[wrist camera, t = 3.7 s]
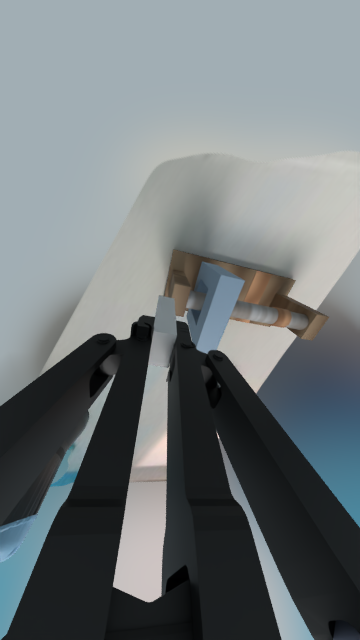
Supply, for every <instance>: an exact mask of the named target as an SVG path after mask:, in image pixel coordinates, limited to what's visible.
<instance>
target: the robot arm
mask: <svg viewBox="0 0 360 640" xmlns="http://www.w3.org/2000/svg"><path fill="white" fill-rule="evenodd" d="M169 364H170V368H169V372H168V376H167V379H166V382H168V421H167V495H166V498H167V500H166V530H165V537H164V545H163V560H162V596H161V597H159V598H158V599H156V600H155V601H153V602H145V601H143V600H140V599H138V598H136V597H134V596H132V595H130V594H127V593H125V592H123V591H121V590H119V589H116V588H114V587H113V581H114V575H115V569H116V562H117V556H118V549H119V544H120V538H121V530H122V524H123V519H124V511H125V505H126V498H127V491H128V485H129V479H130V473H131V467H132V460H133V454H134V448H135V442H136V436H137V430H138V424H139V417H140V411H141V405H142V399H143V393H144V387H145V381H146V374H147V368H148V365H152V366H160V367H167V368H168V367H169ZM114 374H116V375H115V378H114V380H113V383H112V386H111V388H110V391H109V393H108V396H107V399H106V401H105V404H104V406H103V409H102V411H101V414H100V417H99V419H98V422H97V424H96V427H95V430H94V432H93V435H92V437H91V440H90V443H89V445H88V448H87V450H86V453H85V456H84V458H83V461H82V463H81V466H80V469H79V471H78V474H77V476H76V479H75V482H74V484H73V487H72V489H71V492H70V494H69V496H68V498H67V499H66V501H65V502H64V503H63V505H62V506H61V507H60V509H59V511H58V513H57V515H56V517H55V519H54V521H53V523H52V525H51V528H50V530H49V532H48V534H47V537H46V539H45V542H44V544H43V547H42V549H41V552H40V554H39V557H38V559H37V562H36V564H35V566H34V569H33V571H32V574H31V576H30V579H29V581H28V583H27V586H26V588H25V591H24V593H23V596H22V598H21V601H20V603H19V606H18V608H17V611H16V613H15V616H14V618H13V621H12V623H11V625H10V628H9V630H8V633H7V634H6V635H5V636H4V637H3V638H2V639H1V640H281V636H280V633H279V629H278V626H277V622H276V618H275V614H274V611H273V607H272V604H271V600H270V597H269V593H268V589H267V586H266V582H265V578H264V575H263V571H262V568H261V564H260V560H259V557H258V553H257V549H256V546H255V542H254V538H253V535H252V531H251V528H250V525H249V522H248V519H247V516H246V514H245V512H244V510H243V509H242V507H241V505H239V503H238V502H237V501H236V500H235V499H234V498H233V496H232V494H231V490H230V487H229V483H228V478H227V474H226V470H225V466H224V462H223V458H222V453H221V449H220V445H219V441H218V436H217V433H218V435H219V437H220V440H221V441H222V444H223V446H224V449H225V451H226V453H227V455H228V458H229V460H230V462H231V464H232V467H233V469H234V471H235V473H236V476H237V478H238V480H239V482H240V484H241V487H242V489H243V491H244V494H245V496H246V498H247V500H248V502H249V505H250V507H251V509H252V512H253V514H254V516H255V518H256V521H257V523H258V525H259V527H260V529H261V532H262V534H263V536H264V538H265V541H266V543H267V545H268V547H269V549H270V552H271V554H272V556H273V559H274V561H275V563H276V565H277V568H278V570H279V572H280V574H281V576H282V578H283V580H284V583H285V585H286V587H287V589H288V591H289V593H290V595H291V597H292V599H293V601H294V603H295V605H296V607H297V609H298V610H299V612H300V614H301V616H302V618H303V620H304V622H305V624H306V625H307V627H308V629H309V631H310V633H311V635H312V636H313V638H314V640H360V528H359V526H358V525H357V524H356V522H355V521H354V520H353V519H352V517H351V516H350V515H349V513H348V512H347V511H346V510H345V508H344V507H343V506H342V504H341V503H340V502H339V501H338V499H337V498H336V497H335V496H334V494H333V493H332V491H331V490H330V489H329V488H328V486H327V485H326V484H325V482H324V481H323V480H322V479H321V477H320V476H319V475H318V473H317V472H316V471H315V470H314V468H313V467H312V466H311V464H310V463H309V462H308V461H307V459H306V458H305V457H304V455H303V454H302V453H301V451H300V450H299V449H298V448H297V446H296V445H295V444H294V442H293V441H292V440H291V439H290V437H289V436H288V435H287V433H286V432H285V431H284V430H283V428H282V427H281V426H280V424H279V423H278V422H277V420H276V419H275V418H274V417H273V415H272V414H271V413H270V412H269V410H268V409H267V408H266V406H265V405H264V404H263V403H262V401H261V400H260V399H259V397H258V396H257V395H256V393H255V392H254V391H253V389H252V388H251V387H250V386H249V384H248V383H247V382H246V380H245V379H244V378H243V377H242V375H241V374H240V373H239V371H238V370H237V369H236V368H235V366H234V365H233V364H232V362H231V361H230V360H229V358H228V357H227V356H226V355H225V354H224V353H222V352H221V351H218V350H210V351H209V352H208V354H206V353H203V352H201V351H199V350H197V348H196V345H195V344H194V343H193V342H192V341H191V336H190V332H189V327H188V325H187V324H186V323H185V322H181V321H176V314H175V301H174V298H169V297H164V296H160V295H159V299H158V304H157V310H156V315H155V317H150V316H145V315H142V316H141V317H139V320H138V321H137V322H134V323H133V324H132V327H131V336H130V338H128V339H125V340H116V338H115V337H114V336H113V335H111V334H107V333H101V334H97V335H94V336H93V337H91V338H90V339H89V340H87V341H86V342H85V343H83V344H82V345H81V346H79V347H78V348H77V349H75V350H74V351H73V352H71V353H70V354H69V355H67V356H66V357H65V358H64V359H62V360H61V361H60V362H58V363H57V364H56V365H54V366H53V367H52V368H50V369H49V370H48V371H46V372H45V373H44V374H42V375H41V376H40V377H38V378H37V379H36V380H35V381H33V382H32V383H30V384H29V385H28V386H27V387H25V388H24V389H23V390H22V391H20V392H19V393H17V394H16V395H15V396H13V397H12V398H11V399H9V400H8V401H7V402H5V403H4V404H3V405H2V406H0V562H3V561H5V560H7V559H8V558H9V557H11V556H12V555H13V554H14V553H15V552H16V551H17V550H18V548H19V547H20V546H21V544H22V542H23V540H24V538H25V536H26V534H27V533H28V531H29V529H30V527H31V525H32V523H33V521H34V519H36V517H37V513H38V511H39V509H40V506H41V504H42V502H43V500H44V498H45V496H46V494H47V491H48V489H49V487H50V485H51V483H52V481H53V479H54V477H55V474H56V472H57V470H58V468H59V466H60V464H61V461H62V459H63V457H64V455H65V453H66V451H67V450H68V449H69V448H70V446H71V445H72V444H73V443H74V441H75V440H76V439H77V438H78V436H79V435H80V434H81V433H82V431H83V430H84V428H85V427H86V424H87V422H88V420H89V414H88V409H89V408H90V407H91V405H92V404H93V403H94V401H95V400H96V399H97V397H98V396H99V395H100V393H101V392H102V391H103V389H104V388H105V387H106V385H107V384H108V383H109V381H110V380H111V379H112V377H113V375H114ZM218 383H219V385H220V386H219V385H218ZM216 431H217V432H216Z"/></svg>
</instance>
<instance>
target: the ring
mask: <svg viewBox="0 0 360 640" xmlns="http://www.w3.org/2000/svg"><path fill="white" fill-rule="evenodd" d="M244 282H245V280H243V279H241V278H239V277H238V276H236V275H234V274H232V273H231V272H229V271H227V270H225V269H223V268H222V267H220V266H218V265H215V264H211V263H206V262H202V263H201V267H200V270H199V274H198V277H197V281H196V285H195V288H194V291H197V292H201V293H206V294H207V295H206V298H205V301H204V304H203V307H202V310H201V311H199V310H194V309H189V310H188V313H187V320H188V324H189V329H190V333H191V337H192V342H193V343H194V344H195V345H196V348H197V350H199V351H201V352H203V353H207V354H208V352H209V351H210V350H217V347H218V345H219V342H220V340H221V338H222V335H223V333H224V330H225V328H226V326H227V323H228V321H229V318H230V316H231V313H232V311H233V309H234V306H235V304H236V301H237V299H238V297H239V294H240V292H241V289H242V287H243V284H244Z"/></svg>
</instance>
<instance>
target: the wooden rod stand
mask: <svg viewBox="0 0 360 640" xmlns="http://www.w3.org/2000/svg"><path fill="white" fill-rule="evenodd" d="M202 262H206V263H211V264H215V265H218V266H220V267H222V268H223V269H225V270H227V271H229V272H231V273H232V274H234V275H236V276H238V277H239V278H241V279H243V280H245V282H244V284H243V287H242V289H241V292H240V294H239V297H238V299H237V301H236V304H235V306H234V309H233V311H232V313H231V316H230V318H229V319H232V320H236V321H241V322H247V323H253V324H258V325H263V326H269V327H270V326H271V325H272V326H277V327H287V328H288V329H289V330H291V331H292V332H293V333H294V334H296V335H297V336H299V337H300V338H301V339H307V340H313V339H314V337H315V336H316V335H317V333H318V332H319V330H320V329H321V328H322V326H323V325H324V324H325V322H326V321H327V319H328V318H329V317H328V316H326V315H324V314H322V313H320V312H318V311H316V310H314V309H312V308H310V307H308V306H306V305H304V304H302V303H300V302H298V301H296V300H294V299H292V298H290V297H288V296H287V295H288V293H289V292H290V290H291V288H292V286H293V284H294V283H295V281H296V280H293V279H289V278H285V277H281V276H277V275H273V274H269V273H265V272H261V271H257V270H253V269H249V268H245V267H241V266H237V265H233V264H230V263H226V262H222V261H218V260H214V259H210V258H206V257H202V256H198V255H194V254H190V253H186V252H182V251H178V250H174V249H173V254H172V260H171V265H170V270H169V275H168V280H167V285H166V290H165V295H164V297H169V298H174V301H175V314H176V316H181V317H183V316H184V313H185V311H188V310H189V309H194V310H199V311H201V310H202V307H203V304H204V301H205V298H206V295H207V294H206V293H201V292H197V291H194V288H195V285H196V281H197V277H198V274H199V270H200V267H201V263H202Z"/></svg>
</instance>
